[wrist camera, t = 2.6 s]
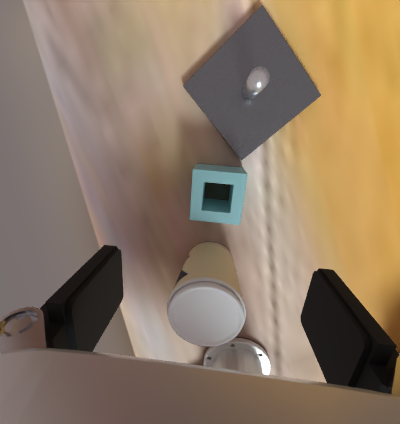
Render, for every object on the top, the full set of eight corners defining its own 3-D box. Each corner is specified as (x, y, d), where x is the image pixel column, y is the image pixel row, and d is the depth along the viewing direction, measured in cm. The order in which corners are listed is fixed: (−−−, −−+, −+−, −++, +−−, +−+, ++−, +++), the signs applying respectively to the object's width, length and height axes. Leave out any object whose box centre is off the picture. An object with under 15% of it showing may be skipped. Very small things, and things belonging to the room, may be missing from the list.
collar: (236, 210, 34) (240, 224, 28) (194, 205, 34) (189, 219, 28) (242, 167, 32) (247, 174, 26) (197, 163, 32) (192, 169, 26)
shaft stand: (240, 159, 31) (246, 165, 25) (184, 87, 29) (173, 72, 22) (317, 96, 28) (348, 84, 21) (260, 9, 26) (275, -35, 19)
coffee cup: (179, 237, 36) (160, 284, 25) (237, 235, 35) (246, 283, 24) (184, 286, 39) (170, 348, 28) (238, 286, 38) (247, 349, 27)
